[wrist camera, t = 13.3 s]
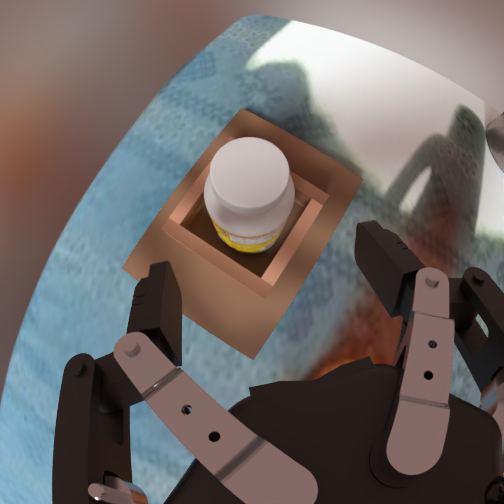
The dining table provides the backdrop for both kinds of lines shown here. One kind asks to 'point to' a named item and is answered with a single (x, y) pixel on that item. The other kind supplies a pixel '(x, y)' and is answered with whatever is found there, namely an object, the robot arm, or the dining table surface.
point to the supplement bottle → (249, 194)
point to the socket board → (237, 264)
